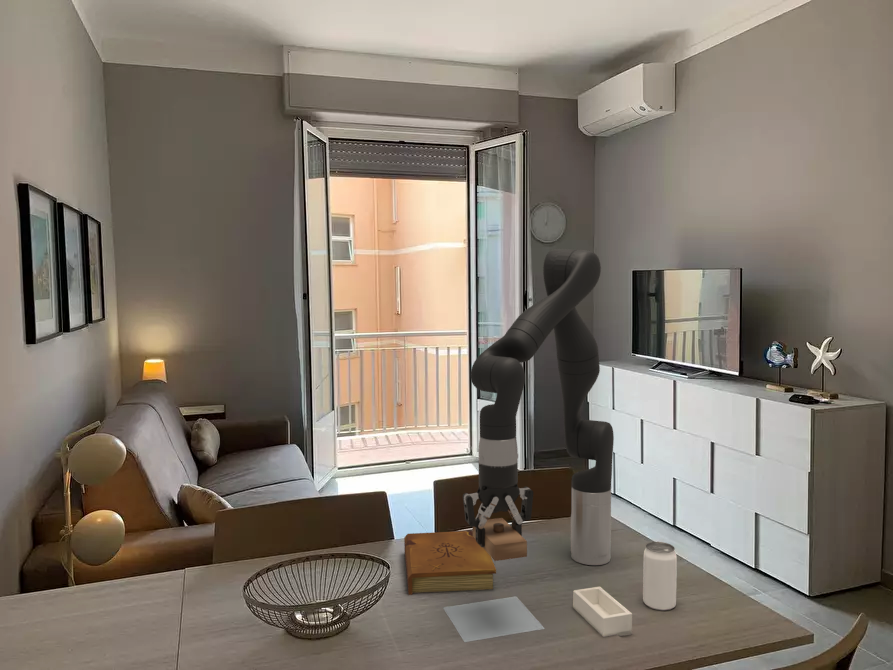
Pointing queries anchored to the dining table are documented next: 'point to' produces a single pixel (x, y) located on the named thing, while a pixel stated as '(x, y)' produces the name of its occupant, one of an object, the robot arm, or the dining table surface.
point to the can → (659, 576)
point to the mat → (492, 619)
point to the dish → (602, 612)
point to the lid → (503, 540)
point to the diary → (446, 562)
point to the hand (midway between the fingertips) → (498, 543)
